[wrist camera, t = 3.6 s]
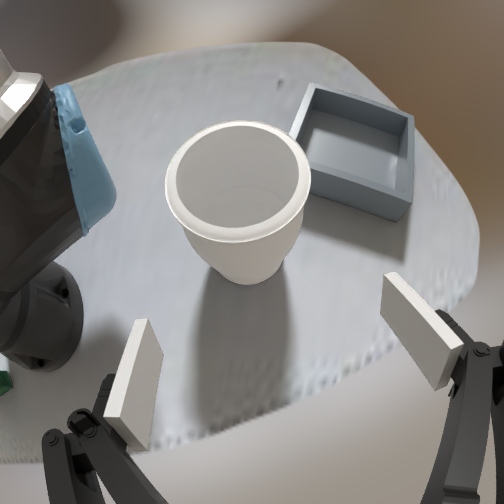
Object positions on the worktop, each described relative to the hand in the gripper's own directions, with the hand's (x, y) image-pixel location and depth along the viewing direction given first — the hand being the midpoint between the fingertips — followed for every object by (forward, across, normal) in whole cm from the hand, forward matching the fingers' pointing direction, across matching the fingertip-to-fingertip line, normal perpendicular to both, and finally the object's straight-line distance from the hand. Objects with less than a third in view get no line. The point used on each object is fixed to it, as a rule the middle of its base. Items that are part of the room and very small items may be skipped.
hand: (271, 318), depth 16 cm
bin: (+26, +16, +4) cm, 31 cm away
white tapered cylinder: (+19, 0, -4) cm, 19 cm away
